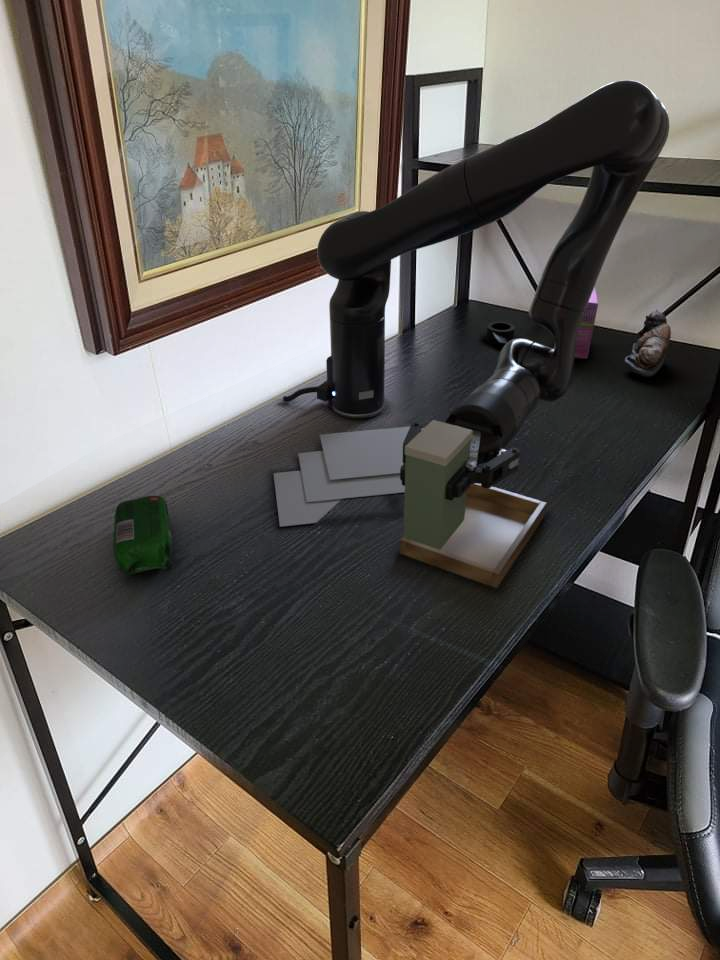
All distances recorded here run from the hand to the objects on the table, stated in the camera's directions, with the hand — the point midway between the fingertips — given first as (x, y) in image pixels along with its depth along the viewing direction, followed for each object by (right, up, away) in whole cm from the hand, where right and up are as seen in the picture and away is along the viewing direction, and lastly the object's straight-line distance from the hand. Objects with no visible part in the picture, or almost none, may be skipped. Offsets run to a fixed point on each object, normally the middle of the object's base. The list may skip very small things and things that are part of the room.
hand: (426, 485), depth 77 cm
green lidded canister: (+1, -5, +6) cm, 8 cm away
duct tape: (+23, +31, +79) cm, 87 cm away
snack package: (-35, -9, +19) cm, 41 cm away
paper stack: (-8, +1, +35) cm, 35 cm away
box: (+37, +28, +74) cm, 88 cm away
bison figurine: (+49, +22, +65) cm, 85 cm away
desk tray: (+8, -7, +21) cm, 24 cm away
